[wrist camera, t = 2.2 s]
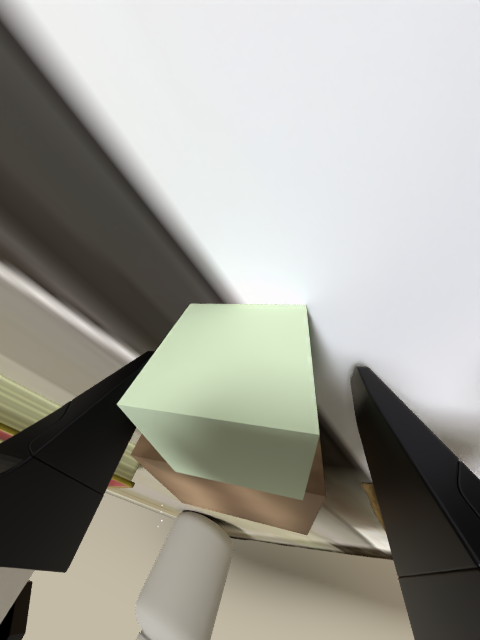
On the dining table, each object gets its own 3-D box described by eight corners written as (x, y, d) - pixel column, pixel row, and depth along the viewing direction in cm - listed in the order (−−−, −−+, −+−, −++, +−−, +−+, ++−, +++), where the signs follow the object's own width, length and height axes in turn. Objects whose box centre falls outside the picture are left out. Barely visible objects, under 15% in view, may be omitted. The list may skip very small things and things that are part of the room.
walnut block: (317, 420, 13) (326, 496, 10) (304, 479, 21) (307, 535, 17) (161, 399, 16) (130, 454, 13) (196, 457, 23) (182, 502, 20)
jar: (153, 500, 49) (61, 723, 29) (185, 502, 40) (87, 810, 21) (211, 525, 54) (167, 724, 35) (249, 530, 46) (219, 793, 27)
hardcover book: (116, 456, 31) (95, 490, 28) (-39, 381, 24) (-91, 415, 21) (152, 447, 24) (131, 490, 21) (-45, 341, 18) (-123, 381, 14)
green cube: (305, 303, 8) (319, 434, 4) (298, 381, 11) (302, 500, 7) (191, 302, 9) (116, 404, 5) (212, 373, 12) (175, 471, 8)
